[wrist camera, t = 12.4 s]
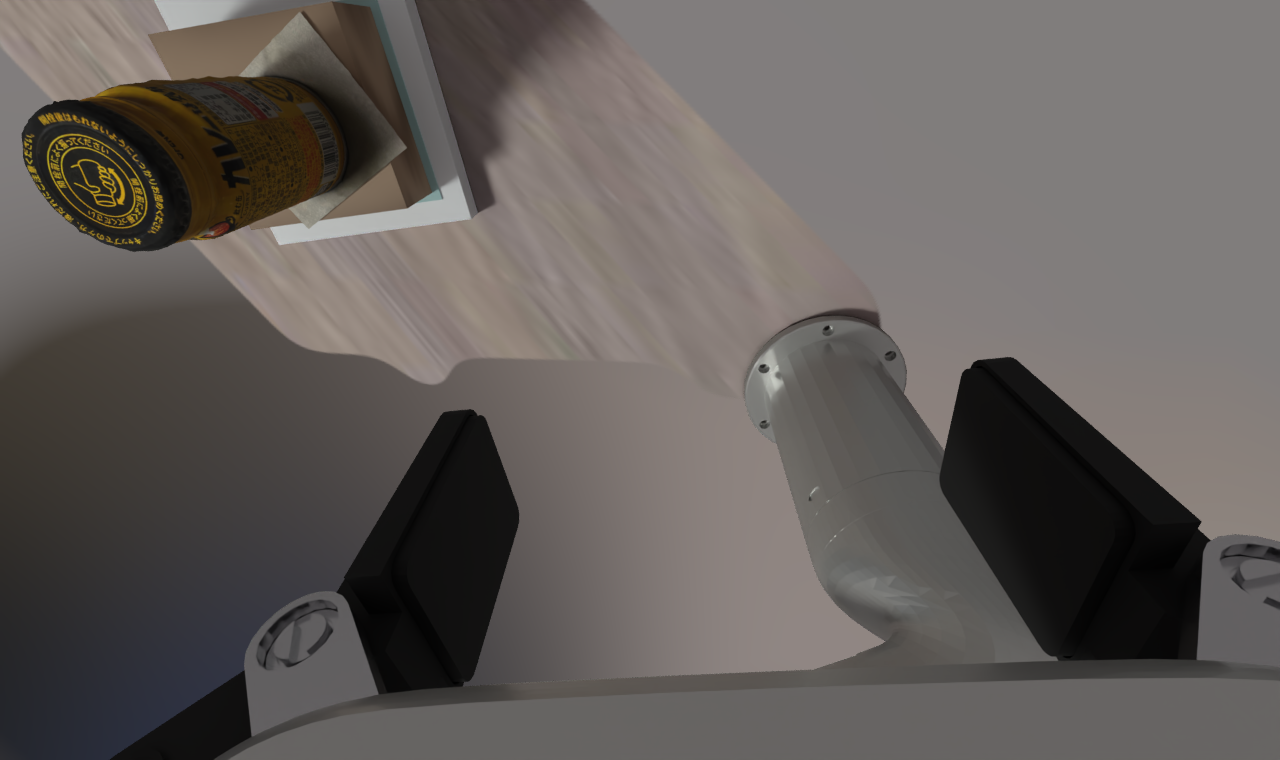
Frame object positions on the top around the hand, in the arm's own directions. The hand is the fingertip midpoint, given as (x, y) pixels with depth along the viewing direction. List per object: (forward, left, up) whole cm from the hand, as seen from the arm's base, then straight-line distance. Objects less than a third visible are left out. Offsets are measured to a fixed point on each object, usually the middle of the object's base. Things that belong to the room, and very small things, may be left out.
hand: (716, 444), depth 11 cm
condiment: (+6, +20, -23) cm, 31 cm away
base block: (+6, +21, -27) cm, 34 cm away
